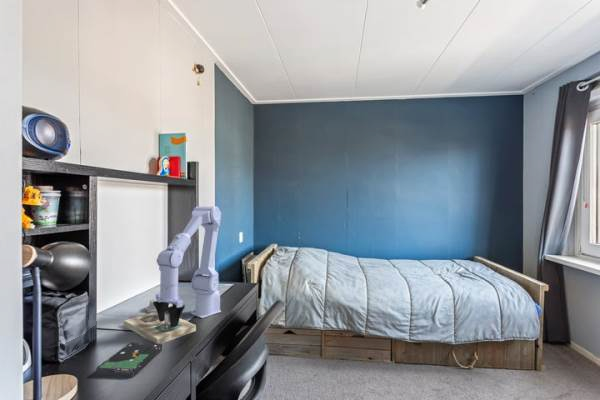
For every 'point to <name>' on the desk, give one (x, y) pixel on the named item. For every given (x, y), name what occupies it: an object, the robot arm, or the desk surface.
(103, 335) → the desk surface
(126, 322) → the dock board
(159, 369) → the desk surface
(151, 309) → the mechanical component
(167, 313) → the steel pin
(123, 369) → the disk drive
